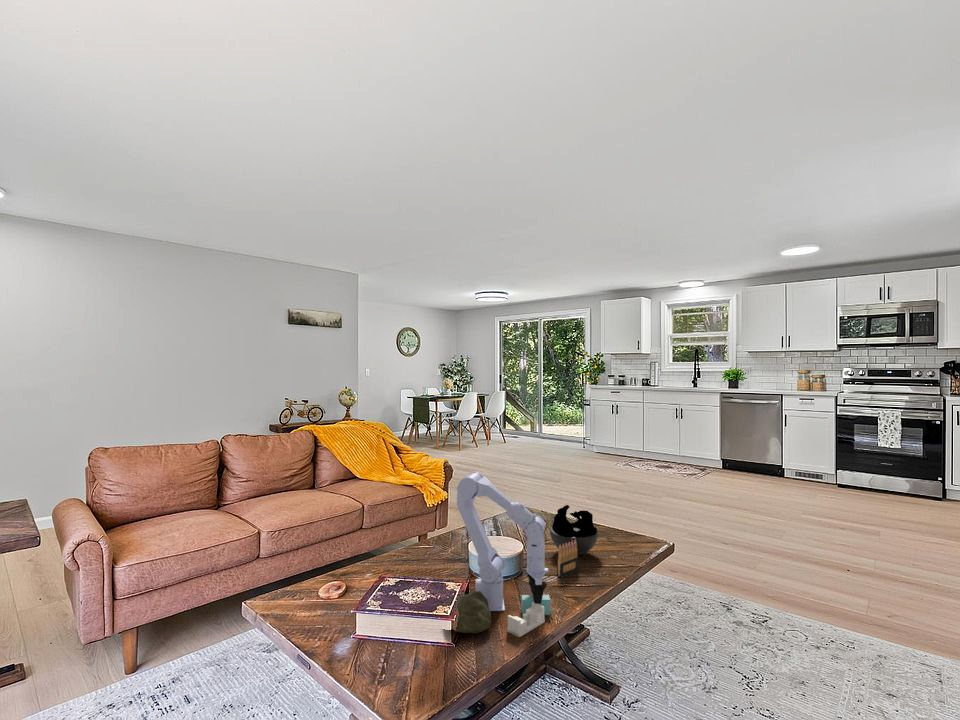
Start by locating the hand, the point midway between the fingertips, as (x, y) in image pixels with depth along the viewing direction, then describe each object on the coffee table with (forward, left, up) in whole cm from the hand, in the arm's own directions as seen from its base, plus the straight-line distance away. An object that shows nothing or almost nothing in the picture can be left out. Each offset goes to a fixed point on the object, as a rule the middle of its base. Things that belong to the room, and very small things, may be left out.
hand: (536, 597), depth 168 cm
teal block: (0, 0, -5) cm, 5 cm away
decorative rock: (-22, -8, -5) cm, 24 cm away
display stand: (-4, -9, -5) cm, 11 cm away
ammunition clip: (+16, +31, -5) cm, 35 cm away
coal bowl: (+22, +50, -5) cm, 54 cm away
